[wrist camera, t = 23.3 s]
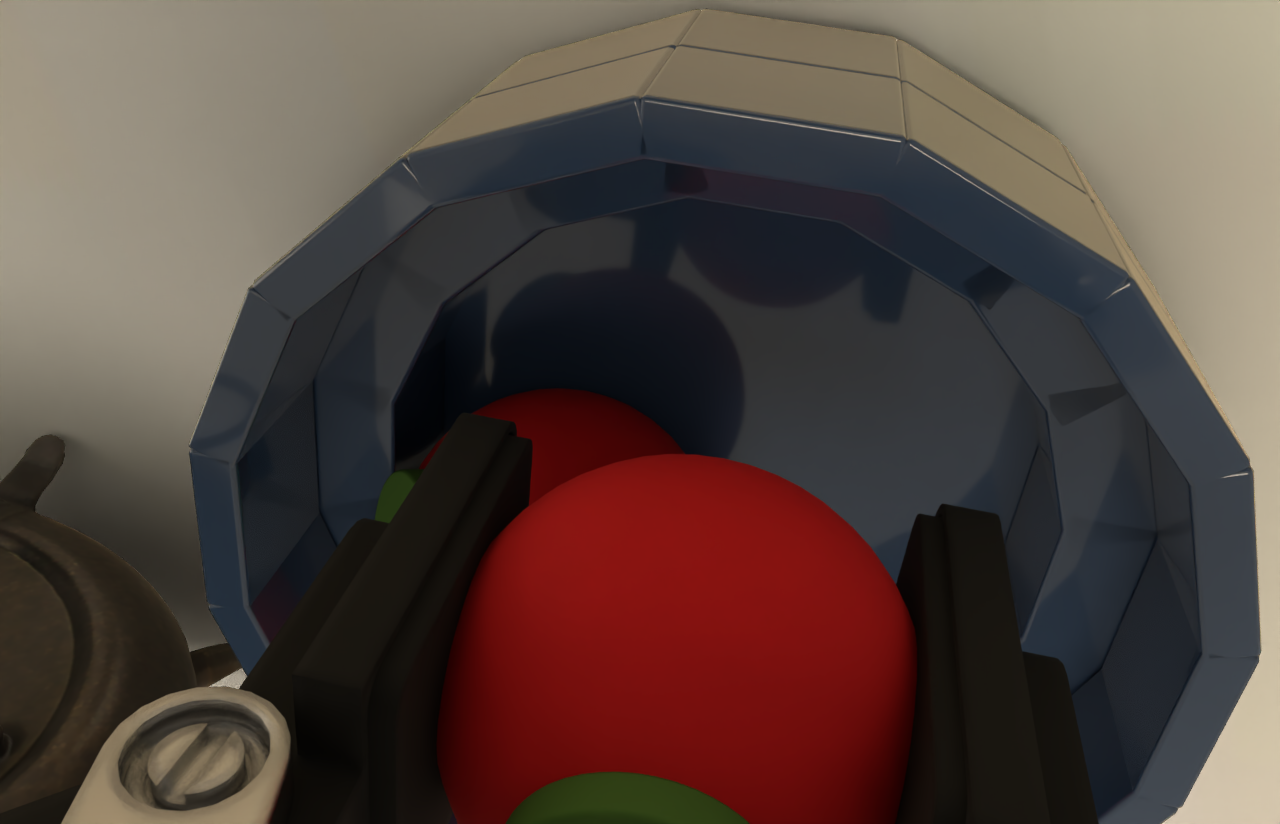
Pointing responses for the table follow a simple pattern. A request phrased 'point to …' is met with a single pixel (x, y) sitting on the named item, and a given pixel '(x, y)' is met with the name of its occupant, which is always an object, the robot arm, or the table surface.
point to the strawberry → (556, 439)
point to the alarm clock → (75, 641)
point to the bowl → (770, 348)
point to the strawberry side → (678, 658)
